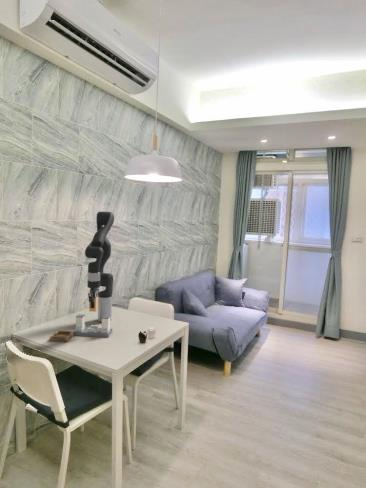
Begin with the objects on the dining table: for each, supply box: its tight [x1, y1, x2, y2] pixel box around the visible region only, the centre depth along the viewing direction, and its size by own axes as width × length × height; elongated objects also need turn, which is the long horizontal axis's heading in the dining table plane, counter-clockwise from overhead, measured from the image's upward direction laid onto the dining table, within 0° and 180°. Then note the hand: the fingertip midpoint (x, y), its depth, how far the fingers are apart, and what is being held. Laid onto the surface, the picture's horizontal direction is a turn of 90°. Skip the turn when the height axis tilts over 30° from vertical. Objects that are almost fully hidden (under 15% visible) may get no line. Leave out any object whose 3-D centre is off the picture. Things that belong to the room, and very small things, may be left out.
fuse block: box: [73, 313, 113, 338], centre depth 198 cm, size 9×22×11 cm, turn 88°
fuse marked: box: [88, 295, 98, 313], centre depth 197 cm, size 4×4×9 cm
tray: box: [49, 330, 75, 343], centre depth 189 cm, size 10×10×2 cm
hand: (93, 306), depth 197 cm, fingers closed on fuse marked, 4 cm apart
